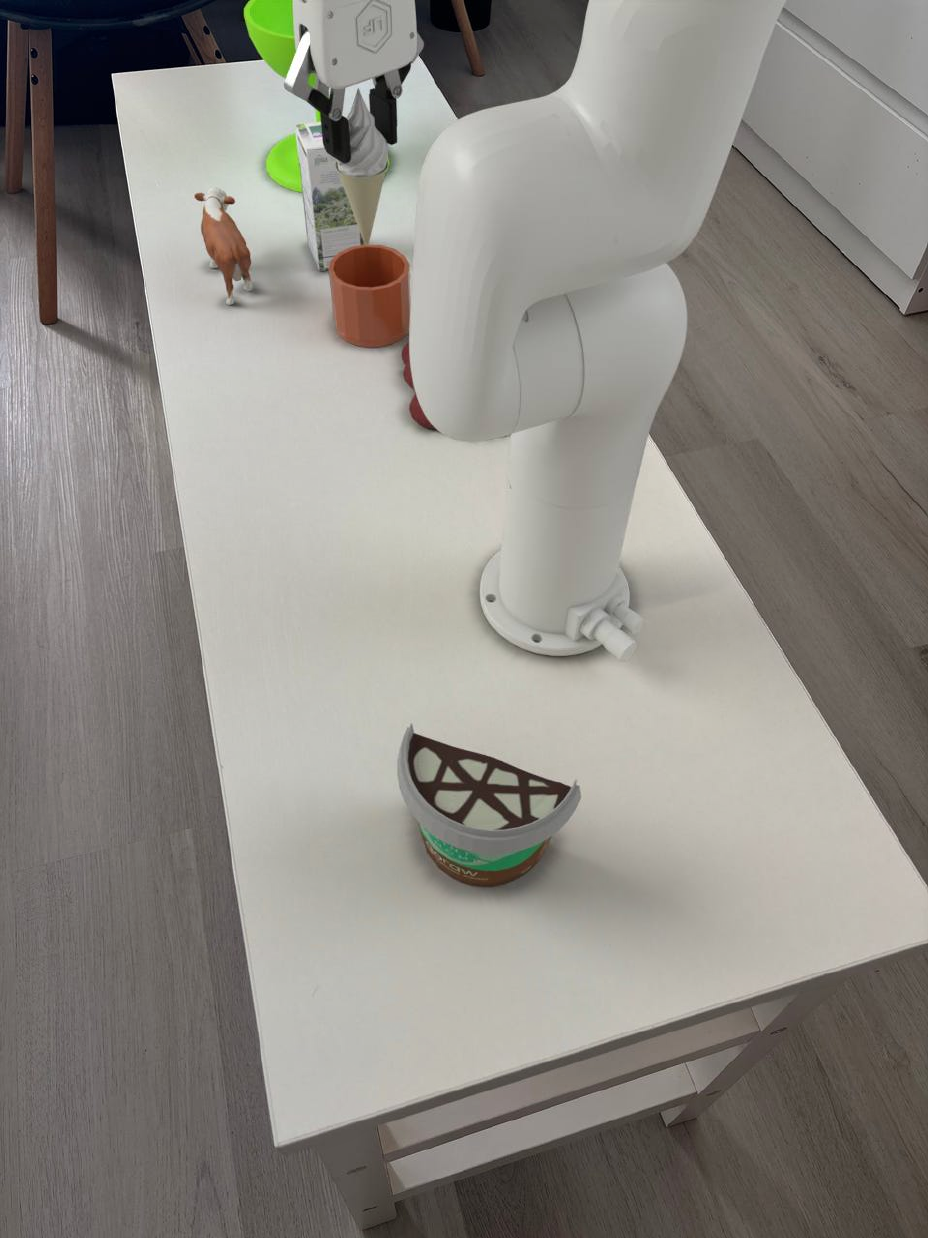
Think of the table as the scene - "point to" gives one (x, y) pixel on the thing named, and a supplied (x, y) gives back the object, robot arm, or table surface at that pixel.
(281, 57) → the wineglass
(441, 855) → the food container
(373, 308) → the holder cup
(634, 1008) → the table surface
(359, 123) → the ice cream cone
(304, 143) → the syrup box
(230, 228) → the bull figurine
